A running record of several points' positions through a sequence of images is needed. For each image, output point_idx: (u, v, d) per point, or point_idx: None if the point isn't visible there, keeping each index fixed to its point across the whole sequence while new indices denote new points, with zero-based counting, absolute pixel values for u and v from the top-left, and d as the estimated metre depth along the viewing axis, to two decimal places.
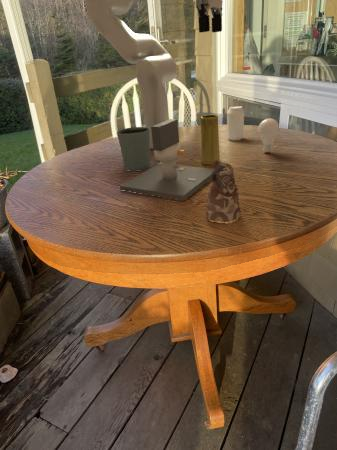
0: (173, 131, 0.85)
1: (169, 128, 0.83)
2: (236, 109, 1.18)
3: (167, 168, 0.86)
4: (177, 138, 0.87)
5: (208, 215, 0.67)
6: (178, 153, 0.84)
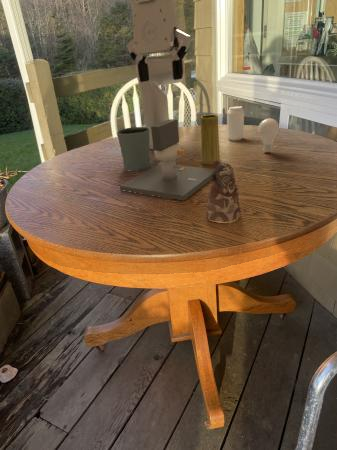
0: (173, 131, 0.85)
1: (169, 128, 0.83)
2: (236, 109, 1.18)
3: (167, 168, 0.86)
4: (177, 138, 0.87)
5: (208, 215, 0.67)
6: (178, 153, 0.84)
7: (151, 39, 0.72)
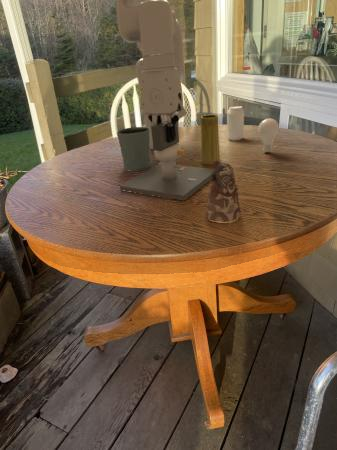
0: None
1: None
2: (236, 109, 1.18)
3: (167, 168, 0.86)
4: (177, 138, 0.87)
5: (208, 215, 0.67)
6: (178, 153, 0.84)
7: (157, 103, 0.78)
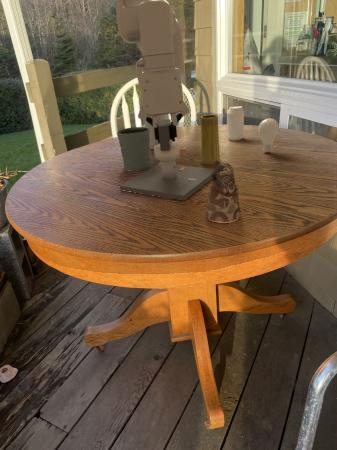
0: (170, 131, 0.86)
1: (169, 128, 0.83)
2: (236, 109, 1.18)
3: (167, 168, 0.86)
4: None
5: (208, 215, 0.67)
6: (181, 151, 0.85)
7: (165, 102, 0.78)
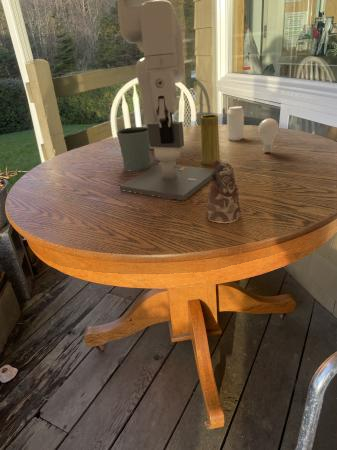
0: None
1: None
2: (236, 109, 1.18)
3: (167, 168, 0.86)
4: None
5: (208, 215, 0.67)
6: None
7: (175, 100, 0.80)
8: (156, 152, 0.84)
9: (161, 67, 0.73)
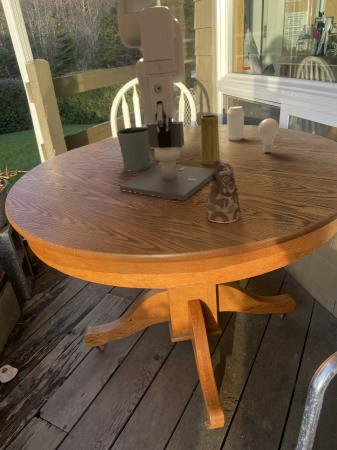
0: None
1: None
2: (236, 109, 1.18)
3: (167, 168, 0.86)
4: None
5: (208, 215, 0.67)
6: None
7: (174, 105, 0.81)
8: (157, 152, 0.84)
9: (160, 73, 0.74)
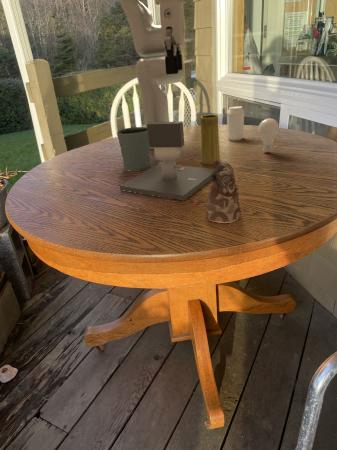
0: None
1: None
2: (236, 109, 1.18)
3: (167, 168, 0.86)
4: None
5: (208, 215, 0.67)
6: None
7: (183, 34, 0.83)
8: (157, 152, 0.84)
9: None
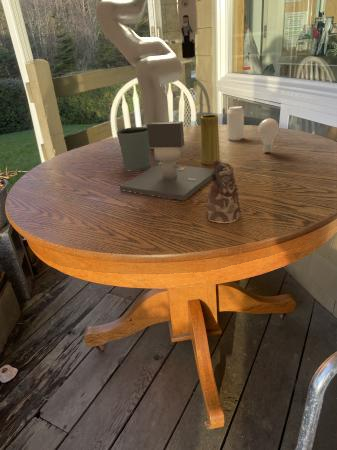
0: None
1: None
2: (236, 109, 1.18)
3: (167, 168, 0.86)
4: None
5: (208, 215, 0.67)
6: None
7: None
8: (157, 152, 0.84)
9: None
